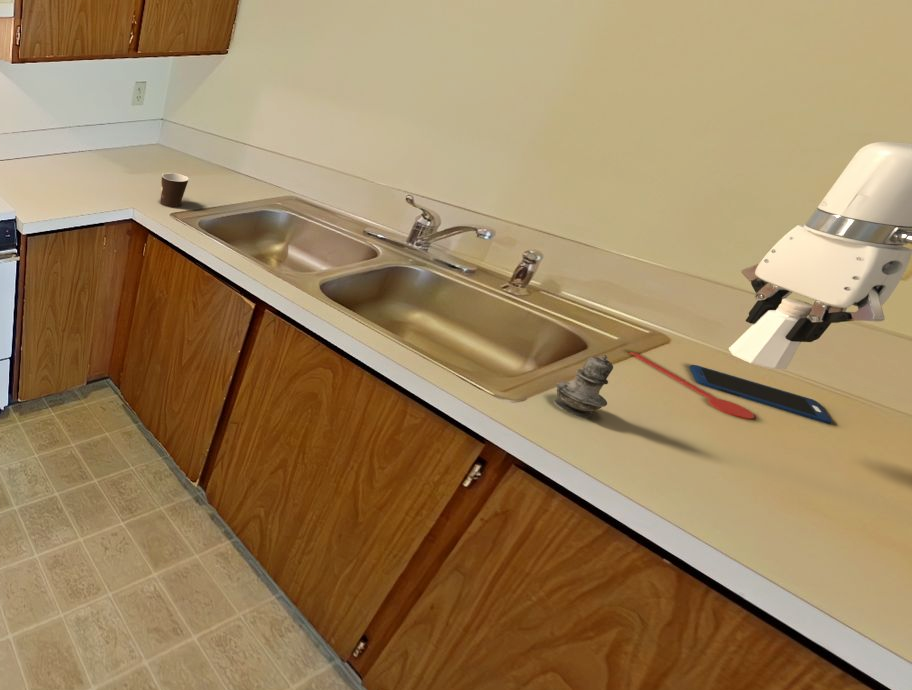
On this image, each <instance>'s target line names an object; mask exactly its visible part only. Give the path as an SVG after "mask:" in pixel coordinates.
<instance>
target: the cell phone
mask: <svg viewBox="0 0 912 690" xmlns="http://www.w3.org/2000/svg"><path fill="white" fill-rule="evenodd" d="M689 370H690V372H691V375H692V377H693V379H694V382H696V383H697V384H698V385H701V386H704V387H706V388H709V389H712V390H716V391H720V392H723V393H725V394H729V395H731V396H735V397H738V398H742V399H745V400H748V401H751V402H755V403H758V404H761V405H764V406H768V407H770V408H774V409H778V410H781V411H784V412H787V413H790V414H793V415H796V416H800V417H803V418H806V419H809V420H813V421H816V422H819V423H823V424H825V425H831V424H832V423H833V420H832V418H831V416H829V414H828V412H826V410H825V408H823V406H822V405H821V403H819V402H818V401H817V400H815V399H813V398H809V397H806V396H802V395H799V394H796V393H792V392H789V391H785V390H783V389H779V388H775V387H773V386H768V385H765V384H762V383H759V382H755V381H751V380H748V379H745V378H741V377H738V376H735V375H731V374H728V373H724V372H721V371H717V370H715V369H711V368H708V367H704V366H701V365H699V364H698V365H697V364H690V365H689Z"/></svg>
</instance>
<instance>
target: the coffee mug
mask: <svg viewBox="0 0 912 690" xmlns="http://www.w3.org/2000/svg"><path fill="white" fill-rule="evenodd" d="M189 180H190V178H189V177H188V176H186V175H185V174H184V175H183V174H180V173H174V172H166V173H162V174H161V182H160V183H161V185H160V204H161V205H162V206H164V207H166V208H179V207H181V203H182V200H183V197H184V195H185V192H186V189H187V186H188V183H189Z"/></svg>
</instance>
